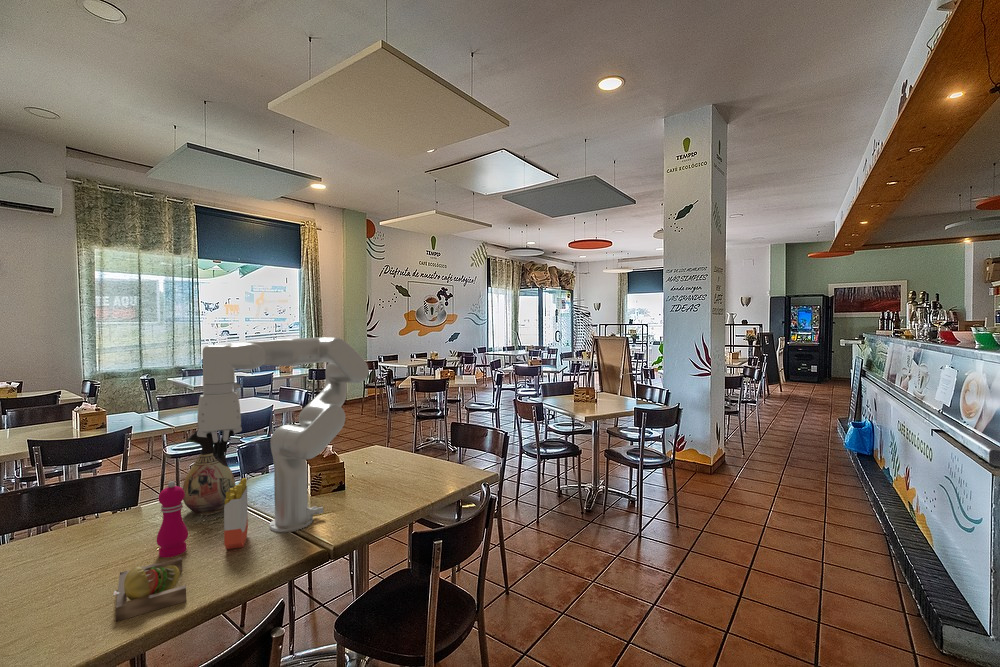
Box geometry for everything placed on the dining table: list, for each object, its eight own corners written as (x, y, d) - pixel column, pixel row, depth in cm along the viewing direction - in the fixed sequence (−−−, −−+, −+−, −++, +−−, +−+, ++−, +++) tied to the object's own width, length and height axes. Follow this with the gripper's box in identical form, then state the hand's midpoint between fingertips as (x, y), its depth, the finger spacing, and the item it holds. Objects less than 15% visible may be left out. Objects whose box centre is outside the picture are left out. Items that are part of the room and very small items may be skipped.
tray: (181, 568, 123) (181, 557, 123) (186, 600, 108) (186, 587, 108) (120, 584, 115) (119, 572, 115) (116, 621, 101) (115, 607, 101)
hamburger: (188, 573, 112) (134, 577, 102) (173, 604, 111) (116, 611, 101) (173, 558, 116) (119, 560, 106) (158, 588, 115) (102, 593, 104)
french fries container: (222, 554, 130) (221, 489, 130) (231, 537, 141) (230, 477, 140) (241, 551, 132) (240, 487, 132) (248, 535, 142) (247, 475, 142)
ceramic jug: (176, 524, 150) (174, 430, 149) (188, 507, 164) (187, 421, 164) (237, 516, 156) (235, 426, 156) (244, 500, 170) (242, 417, 170)
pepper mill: (172, 560, 127) (170, 486, 127) (150, 557, 129) (148, 484, 128) (194, 547, 134) (193, 477, 134) (173, 545, 136) (171, 476, 135)
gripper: (247, 385, 138) (248, 448, 139) (185, 390, 129) (187, 457, 130) (251, 388, 132) (252, 453, 132) (187, 393, 123) (189, 463, 124)
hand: (220, 455), depth 131 cm, fingers closed
